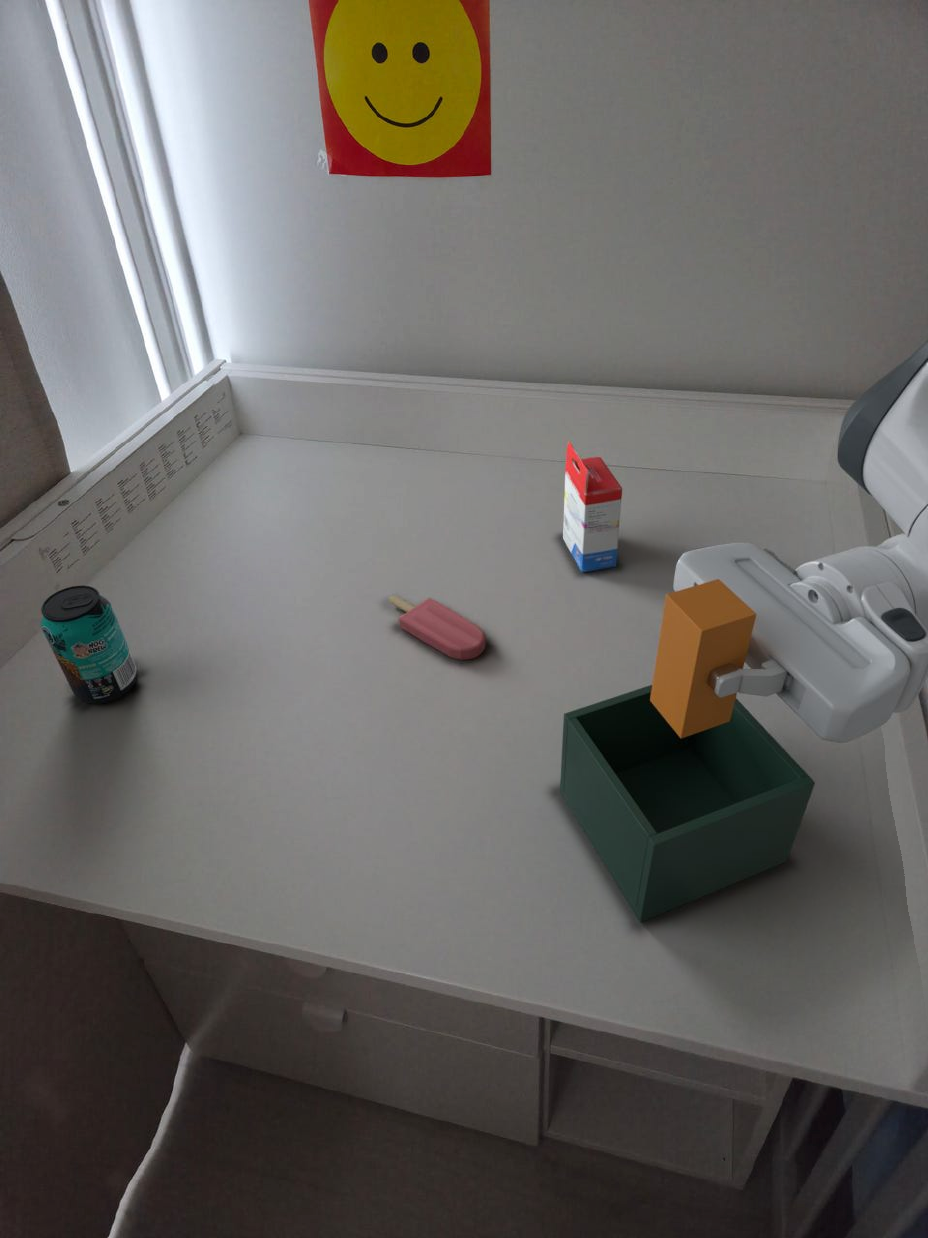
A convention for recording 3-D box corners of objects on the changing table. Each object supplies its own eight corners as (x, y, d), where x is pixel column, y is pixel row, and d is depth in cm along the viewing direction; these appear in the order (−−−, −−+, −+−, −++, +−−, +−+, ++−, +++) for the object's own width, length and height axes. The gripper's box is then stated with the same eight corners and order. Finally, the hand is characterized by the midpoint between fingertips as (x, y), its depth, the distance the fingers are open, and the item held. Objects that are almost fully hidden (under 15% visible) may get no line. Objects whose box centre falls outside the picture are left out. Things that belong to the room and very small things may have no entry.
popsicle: (405, 582, 101) (495, 633, 93) (406, 592, 102) (495, 644, 94) (373, 603, 98) (463, 657, 90) (375, 612, 99) (463, 668, 91)
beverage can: (77, 671, 93) (38, 589, 86) (140, 658, 95) (107, 575, 87) (72, 713, 88) (30, 629, 81) (139, 699, 89) (103, 615, 82)
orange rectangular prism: (729, 721, 64) (757, 613, 57) (680, 739, 62) (702, 631, 55) (697, 684, 67) (718, 578, 60) (649, 700, 66) (666, 594, 59)
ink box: (617, 568, 104) (627, 466, 95) (580, 574, 104) (586, 472, 94) (595, 532, 111) (602, 434, 101) (560, 537, 110) (564, 439, 101)
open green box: (786, 861, 71) (815, 782, 64) (640, 922, 67) (654, 845, 60) (690, 745, 81) (706, 666, 74) (559, 792, 77) (563, 713, 70)
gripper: (764, 512, 70) (623, 551, 66) (956, 660, 55) (788, 721, 51) (750, 571, 74) (616, 611, 70) (926, 724, 59) (768, 785, 55)
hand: (690, 659), depth 61 cm, fingers closed on orange rectangular prism, 4 cm apart
